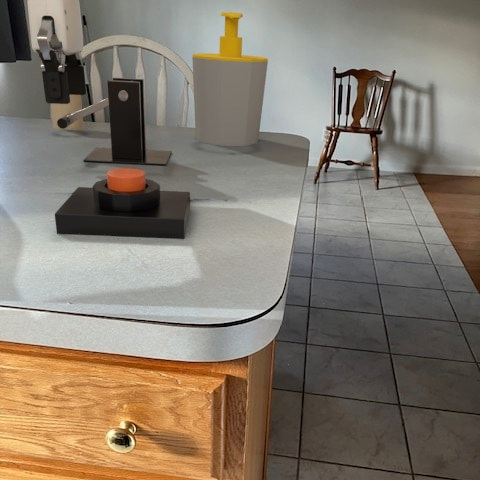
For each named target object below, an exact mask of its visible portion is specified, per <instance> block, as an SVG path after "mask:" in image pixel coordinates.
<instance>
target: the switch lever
mask: <svg viewBox="0 0 480 480" xmlns="http://www.w3.org/2000/svg"><path fill="white" fill-rule="evenodd" d="M108 107H109V99H108V97H106V98H104V99H102V100H100V101H98V102H95V103H93V104H91V105H88V106H87V107H84V108H82V110H80V111H78V112H75V113H73V114H72V113H68V114H67V115H65V116H63V117H61V118H60V119H58V121H57V125H58V126H59V127H60V128H61V129H60V130H65V129H64V128H66V127H68V126H69V125H71V124H72V123H74V122H75V121H77V120H79V119H81V118H83V119H84V118H86V117H87V116H90V115H92V114H95V113H96V112H98V111H101V110H103V109H106V108H108Z"/></svg>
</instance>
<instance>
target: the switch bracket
mask: <svg viewBox="0 0 480 480" xmlns="http://www.w3.org/2000/svg"><path fill="white" fill-rule="evenodd" d="M106 82H107V98H108V99H109V106H108V112H109V114H108V115H109V130H110V146H111V147H95V148H94V149H93V150H92V151H91V152H90V153H89V154H87V156H86V157H84V159H83V161H82V162H83V163H89V164H90V163H93V164H113V165H132V166H135V165H136V166H153V167H156V166H157V167H166V166H167V165H168V162H169V161H170V158H171V155H172V150H160V149H159V150H158V149H147V139H146V138H147V137H146V107H145V106H146V105H145V79H144V78H131V77H112V79H109V80H107V81H106Z"/></svg>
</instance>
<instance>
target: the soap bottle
mask: <svg viewBox="0 0 480 480" xmlns="http://www.w3.org/2000/svg"><path fill="white" fill-rule="evenodd" d="M220 17H224V35H222V36H221V35H220V36H219V46H218V47H219V49H218V50H219V51H218V53H211V52H209V53H208V52H207V53H204V52H202V53H201V52H199V53H193V54H192V57H191V58H192V59H191V60H192V76H193V77H192V82H193V83H192V85H193V104H194V105H193V106H194V107H193V109H194V130H195V131H194V132H195V140H197V141H198V142H201V143H204V144H208V145H213V146H214V145H215V146H222V147H223V146H224V147H225V146H226V147H245V146H252V145H256V144H258V143H259V140H260V139H259V137H260V129H261V121H262V114H263V105H264V96H265V89H266V79H267V71H268V64H269V59H268V57H265V56H257V55H248V54H247V55H246V54H242V53H243V52H242V51H243V37H241V36H239V20H240V19H241V18H243V17H244V15H243V13H241V12H232V11H231V12H230V11H222V12H221V13H220Z"/></svg>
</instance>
